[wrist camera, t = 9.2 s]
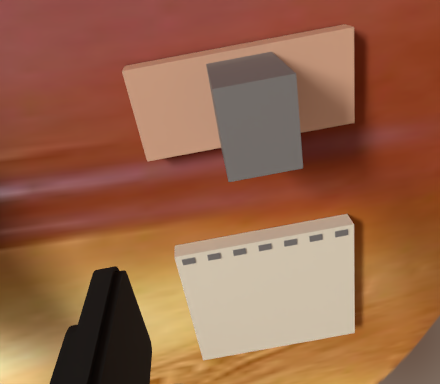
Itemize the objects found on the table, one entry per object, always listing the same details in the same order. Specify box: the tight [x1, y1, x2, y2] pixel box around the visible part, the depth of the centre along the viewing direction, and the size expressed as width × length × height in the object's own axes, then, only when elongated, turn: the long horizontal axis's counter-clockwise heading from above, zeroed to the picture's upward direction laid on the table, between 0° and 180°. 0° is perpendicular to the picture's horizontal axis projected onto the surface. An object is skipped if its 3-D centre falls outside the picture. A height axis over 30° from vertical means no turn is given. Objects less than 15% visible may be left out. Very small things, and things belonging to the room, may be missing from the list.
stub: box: [122, 24, 355, 182], centre depth 24 cm, size 6×14×8 cm, turn 100°
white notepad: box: [175, 214, 355, 360], centre depth 35 cm, size 12×14×2 cm
